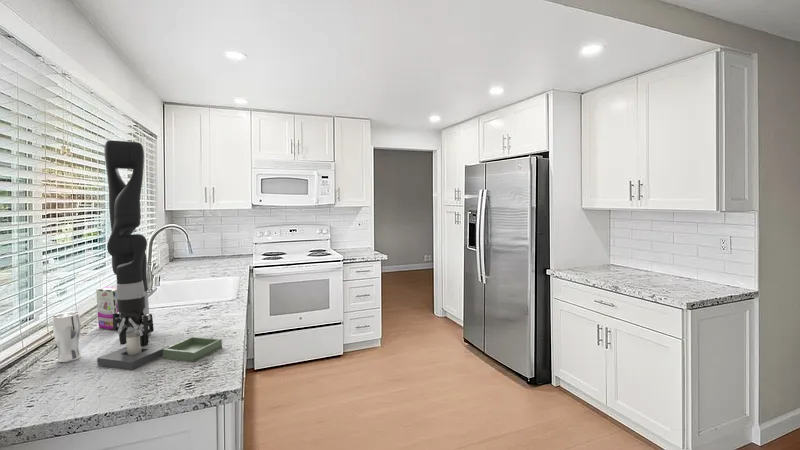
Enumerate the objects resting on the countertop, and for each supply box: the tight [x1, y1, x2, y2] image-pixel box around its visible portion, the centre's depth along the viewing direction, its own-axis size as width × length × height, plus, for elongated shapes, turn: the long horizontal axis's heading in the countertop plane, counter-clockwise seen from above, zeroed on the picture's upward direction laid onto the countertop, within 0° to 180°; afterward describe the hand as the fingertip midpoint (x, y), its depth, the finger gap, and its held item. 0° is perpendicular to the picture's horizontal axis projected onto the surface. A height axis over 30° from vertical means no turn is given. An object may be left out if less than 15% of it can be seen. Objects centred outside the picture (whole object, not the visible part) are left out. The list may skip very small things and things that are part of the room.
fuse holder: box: [96, 343, 170, 371], centre depth 133 cm, size 14×14×2 cm
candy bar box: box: [95, 286, 119, 331], centre depth 166 cm, size 11×5×16 cm, turn 68°
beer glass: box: [52, 311, 82, 363], centre depth 134 cm, size 7×7×15 cm
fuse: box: [126, 330, 142, 356], centre depth 133 cm, size 4×4×9 cm
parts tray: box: [162, 336, 223, 363], centre depth 137 cm, size 13×13×3 cm
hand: (134, 344), depth 133 cm, fingers open, 8 cm apart
